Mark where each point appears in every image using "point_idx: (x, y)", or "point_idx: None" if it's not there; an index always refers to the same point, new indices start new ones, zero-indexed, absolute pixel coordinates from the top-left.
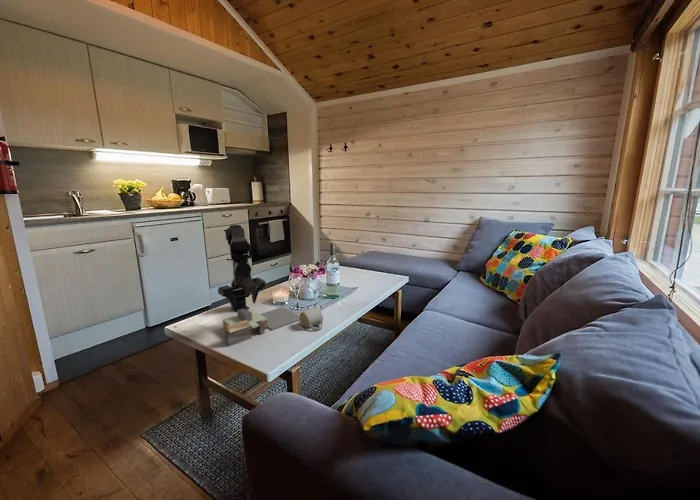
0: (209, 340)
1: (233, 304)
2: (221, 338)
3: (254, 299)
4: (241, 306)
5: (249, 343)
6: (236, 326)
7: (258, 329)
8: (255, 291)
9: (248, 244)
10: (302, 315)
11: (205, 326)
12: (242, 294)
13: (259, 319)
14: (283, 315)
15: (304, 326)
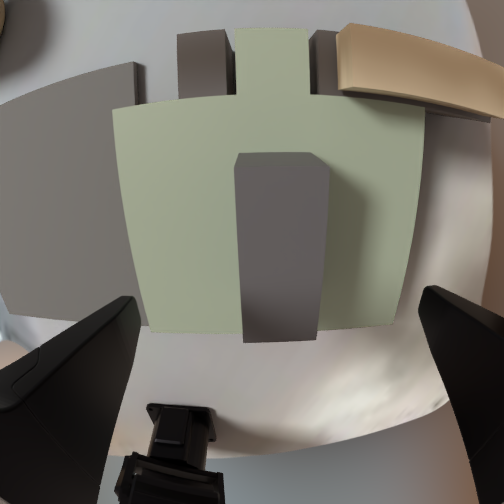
0: (468, 217)
1: (481, 314)
2: (430, 192)
3: (104, 326)
4: (182, 424)
5: (346, 4)
6: (462, 52)
7: (230, 67)
8: (10, 427)
9: None
10: None
11: (391, 364)
12: (163, 477)
13: (175, 124)
14: (14, 218)
15: (4, 11)
